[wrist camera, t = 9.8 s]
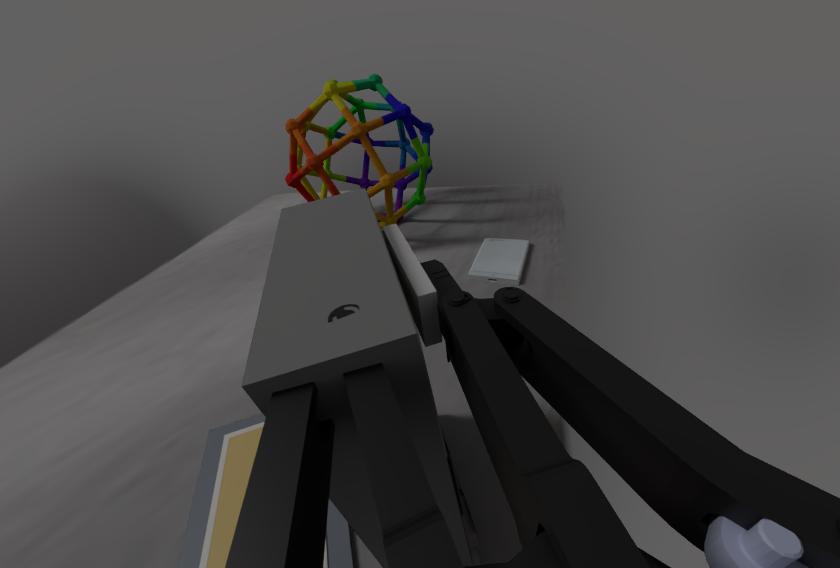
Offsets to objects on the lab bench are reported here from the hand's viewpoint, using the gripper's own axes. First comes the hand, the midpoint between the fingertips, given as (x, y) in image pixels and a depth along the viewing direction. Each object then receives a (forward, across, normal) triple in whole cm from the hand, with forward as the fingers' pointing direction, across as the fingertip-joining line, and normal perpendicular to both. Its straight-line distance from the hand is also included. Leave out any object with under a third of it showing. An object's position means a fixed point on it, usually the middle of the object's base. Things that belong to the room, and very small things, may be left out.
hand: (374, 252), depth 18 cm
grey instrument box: (-2, -1, -23) cm, 23 cm away
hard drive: (+28, +23, -24) cm, 44 cm away
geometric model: (+53, +6, -24) cm, 59 cm away
